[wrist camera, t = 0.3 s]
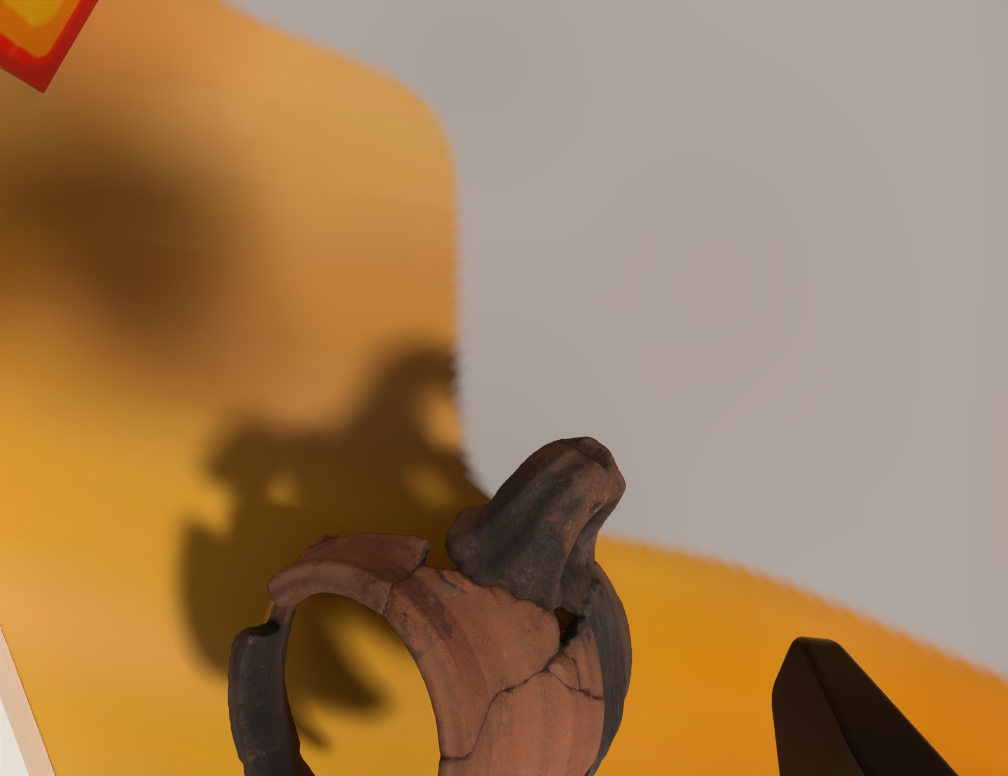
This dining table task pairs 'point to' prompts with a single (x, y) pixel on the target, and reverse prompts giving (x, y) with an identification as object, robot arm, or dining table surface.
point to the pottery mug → (473, 627)
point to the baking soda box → (39, 36)
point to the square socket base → (18, 725)
